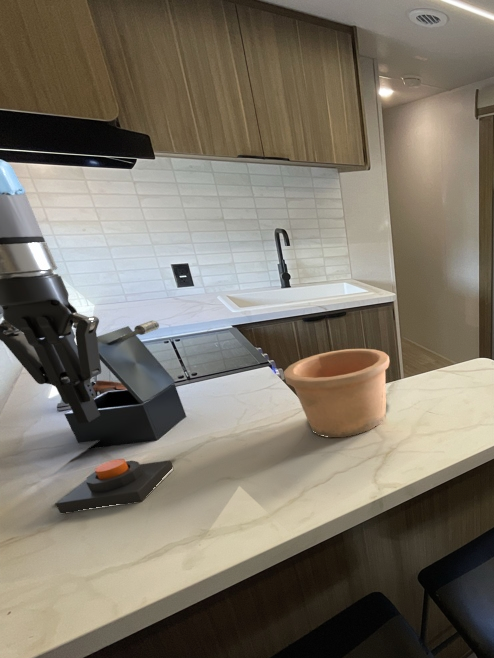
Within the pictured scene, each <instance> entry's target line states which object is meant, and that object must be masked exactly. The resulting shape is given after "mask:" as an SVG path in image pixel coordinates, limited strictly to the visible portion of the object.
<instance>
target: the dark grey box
mask: <svg viewBox="0 0 494 658" xmlns="http://www.w3.org/2000/svg"><path fill="white" fill-rule="evenodd" d="M98 395H99V394H98ZM93 400H94V402H95V404H96V406H97V408H98V411H99V413H100V416H99V417H97V418H95V419H94V420H92V421H90V422H87V423H79V424H78V422H77V420H76V418H75V415H74V413H73V411H72V409H70V410H69V411H67V412H65V413H64V417H65V419H66V421H67V423H68V425H69V427H70V429H71V432H72V434H73V436H74V438H75V440H76V441H77V443H78V444H81V443H83V444H84V443H89V442H95V443H94V444H92V445H91V446H90V447H88V448H87V450H95V449H101V448H103V449H104V448H110V447H118V446H123V445H124V446H125V445H134V444H142V443H148V442H150V443H151V442H156V441H158V440H160V439H161V438H162V437H164V436H165V435H166V434H167V433H168V432H169V431H171V430H172V429H173V428H175V427H176V425H178V424H179V423H180V422H181V421H183V420H184V419H185V418H186V417H187V414H186V411H185V408H184V405H183V403H182V401H181V398H180V395H179V391H178V389H177V387H176V384H175V383H173V384H171V385H170V386H168V387H167V388H165V389H163V390H162V391H160V392H159V393H157V394H156V395H154V396H153V397H151V398H149V399H148V400H146V401H145V402H143V403H141V404H140V403H139V402H138V401H137V400H136V399H135V397H134V396H133V395H132V394H131V393H130V392H129V391H128V390H127V389H125V390H116V391H107V392H105V393H103V394H101V395H99V396H97V397H96V398H95V399H93Z"/></svg>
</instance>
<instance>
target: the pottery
mask: <svg viewBox="0 0 494 658" xmlns="http://www.w3.org/2000/svg"><path fill="white" fill-rule="evenodd" d="M389 366H390V356H389V355H388V354H387V353H386V352H384V351H382V350H377V349H373V348H372V349H371V348H349V349H348V348H347V349H339V350H334V351H326V352H323V353H318V354H314V355H311V356H309V357H308V356H307V357H305V358H303V359H299V360H298V361H296V362H294V363H292V364H290V365H288V366H287V368H286V369H285V370H284V371H283V376H284V379H285V383H286V384H287V385H288V386H291V387H293V388H294V391H295V393H296V396H297V398H298V401H299V403H300V406H301V407H302V410H303V412H304V414H305V417H306V419H307V422H308V424H309V427H310V429H311V431H312V430H313V431H314V432H316V433H317V434H319V435H324V436H328V437H341V438H347V437H346V436H348V437H352V436H351V435H353V436H357V435H360V434H363V433H365V431H366V432H368V431H370V429H371V430H373V429H374V428H376V427H377V426H379V425H380V424H381V423H382V422H383V421H384V420H385V419H386V416H387V401H386V400H387V395H386V394H387V393H386V387H387V386H386V370H387V369H388V368H389ZM375 426H376V427H375ZM362 432H363V433H362ZM359 433H360V434H359ZM317 434H316V435H317ZM356 434H357V435H356ZM319 435H318V436H319ZM328 437H327V438H328Z"/></svg>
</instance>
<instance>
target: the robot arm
mask: <svg viewBox="0 0 494 658" xmlns="http://www.w3.org/2000/svg"><path fill="white" fill-rule="evenodd" d="M57 269H58V266H57V264H56V261H55V259H54V256H53V255H52V253H51V250H50V248H49V245H48V243H47V242H46V240H45V238H44V235H43V233H42V230H41V228H40V225H39V223H38V221H37V218H36V215H35V213H34V210H33V208H32V206H31V204H30V201H29V198H28V196H27V193H26V189H25V187H24V186H23V185H22V184H21V182H20V180H19V178H18V176H17V174H16V172H15V170H14V167H12V165H11V164H10V163H9V162H7V161H5V160H3V159H0V307H1V308H2V318H3V320H2V322H0V341H1V342H2V343H3V344H4V345H5V346H6V347H7V349H8V350H9V352H11V353H12V355H13V356H14V357H15V358H16V360H17V361H18V362H19V363H20V364H21V365H22V367H23V368H24V369H25V370H26V372H27V373H28V374H29V375H30V376H31V377H32V378H33V380H34V382H36V383H37V384H39V385H44V384H46V385H52V386H53V387H55V388H56V390H57V392H58V394H59V396H60V398H61V401H62V403H64V404H65V405H69V407H70V410H72V411H73V413H74V415H75V418H76V420H77V422H78V424H79V423H87V422H90V421H92V420H94V419H95V418H97V417H99V416H100V413H99V411H98V408H97V406H96V404H95V402H94V400H93V399H95V398H96V393H95V391H94V389H93V386H94V385H92V382H91V379H92V378H94V377H96V376H98V375H101V374H102V365H101V360H100V357H99V349H98V342H97V337H98V335H97V329H98V326H99V324H100V318H98V316H95V315H94V316H87V315H84V314H81V313H79V312H78V311H77V309H76V308H75V307H74V306H73V305H72V304H71V303H70V301H69V296H70V295H69V292H68V289H67V288H66V285H65V283H64V280H63V278H62V276H61V275H59V274H58V273H54V271H56V270H57ZM73 329H75V331H74V330H73Z"/></svg>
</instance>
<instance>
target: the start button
mask: <svg viewBox="0 0 494 658" xmlns="http://www.w3.org/2000/svg"><path fill="white" fill-rule="evenodd" d="M126 461H127V460H126V459H124V458H117V459H112V460H108V461H106V462H103V463H101V464H100V465H98V466H96V467H95V468H94V472H96V474H97V476H98V478H99V479H100V480H101V479H108V478H111V477H114V476H118V475H120V474H122V473H124V472H126V471H127V470H128V469H129V468H128V465H127V463H126Z"/></svg>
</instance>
